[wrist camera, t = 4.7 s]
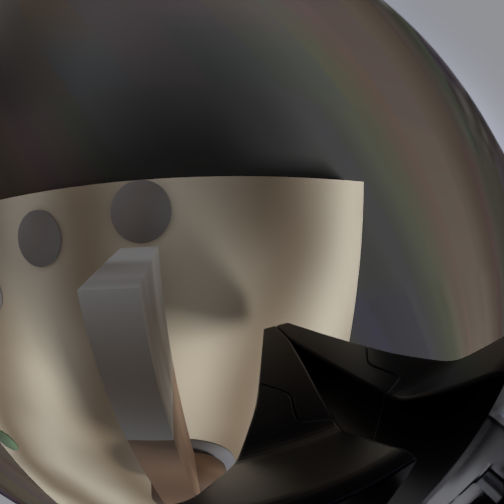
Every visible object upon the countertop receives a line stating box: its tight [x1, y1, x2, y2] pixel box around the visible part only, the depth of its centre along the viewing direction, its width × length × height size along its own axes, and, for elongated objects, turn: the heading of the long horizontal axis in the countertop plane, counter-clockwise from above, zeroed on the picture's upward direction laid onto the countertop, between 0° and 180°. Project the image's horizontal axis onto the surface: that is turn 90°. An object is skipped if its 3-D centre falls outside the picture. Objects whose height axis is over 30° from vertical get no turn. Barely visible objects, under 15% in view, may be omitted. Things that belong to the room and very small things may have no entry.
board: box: [0, 176, 364, 504], centre depth 10 cm, size 22×24×1 cm
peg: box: [77, 246, 226, 504], centre depth 8 cm, size 14×4×4 cm, turn 0°
